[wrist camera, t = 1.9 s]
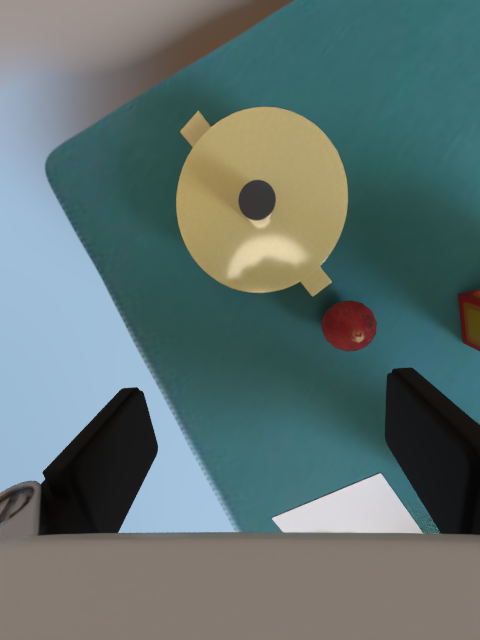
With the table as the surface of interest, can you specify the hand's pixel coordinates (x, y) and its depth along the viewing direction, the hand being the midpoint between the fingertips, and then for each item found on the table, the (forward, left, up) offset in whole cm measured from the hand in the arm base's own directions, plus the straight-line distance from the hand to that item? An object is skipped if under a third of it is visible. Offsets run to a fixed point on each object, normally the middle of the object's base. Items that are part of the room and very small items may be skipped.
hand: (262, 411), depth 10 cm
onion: (-9, +5, -25) cm, 27 cm away
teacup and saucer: (-8, +44, -25) cm, 51 cm away
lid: (-1, -9, -18) cm, 20 cm away
